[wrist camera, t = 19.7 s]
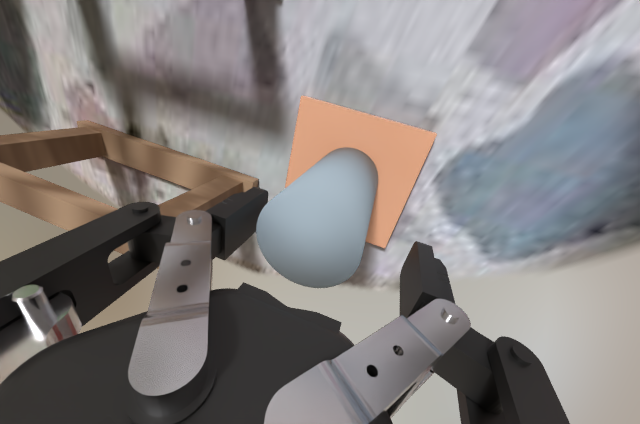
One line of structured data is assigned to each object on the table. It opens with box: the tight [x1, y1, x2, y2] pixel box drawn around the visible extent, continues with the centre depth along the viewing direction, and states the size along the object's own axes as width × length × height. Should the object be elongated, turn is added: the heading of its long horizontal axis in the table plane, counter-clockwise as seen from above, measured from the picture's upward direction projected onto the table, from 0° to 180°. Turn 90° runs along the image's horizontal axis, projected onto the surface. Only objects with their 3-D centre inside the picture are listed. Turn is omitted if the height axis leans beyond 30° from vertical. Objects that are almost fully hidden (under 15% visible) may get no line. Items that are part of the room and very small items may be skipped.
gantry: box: [0, 120, 258, 269], centre depth 16 cm, size 20×20×11 cm
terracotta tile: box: [285, 96, 437, 248], centre depth 20 cm, size 10×10×1 cm
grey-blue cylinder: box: [256, 147, 378, 288], centre depth 15 cm, size 5×5×10 cm
